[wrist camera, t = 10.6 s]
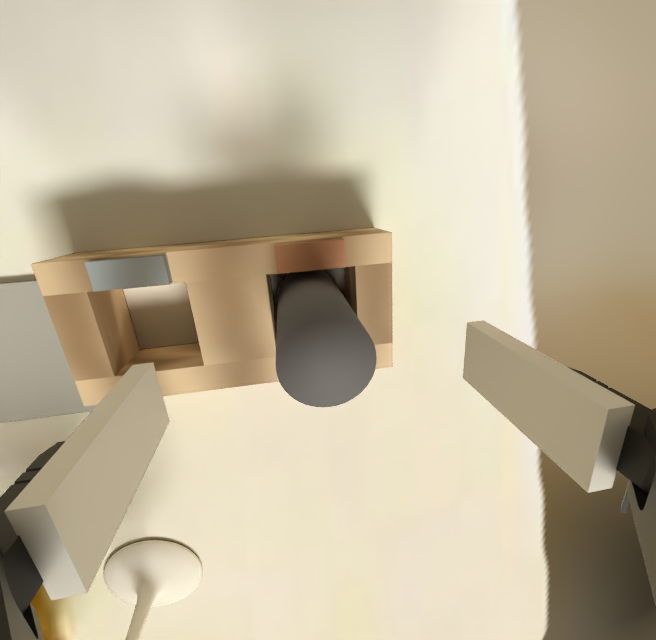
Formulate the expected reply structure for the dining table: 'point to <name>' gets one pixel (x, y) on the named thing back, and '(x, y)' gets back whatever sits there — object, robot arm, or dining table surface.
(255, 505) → the dining table surface
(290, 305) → the plug
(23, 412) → the pad
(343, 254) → the socket block
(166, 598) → the wineglass
